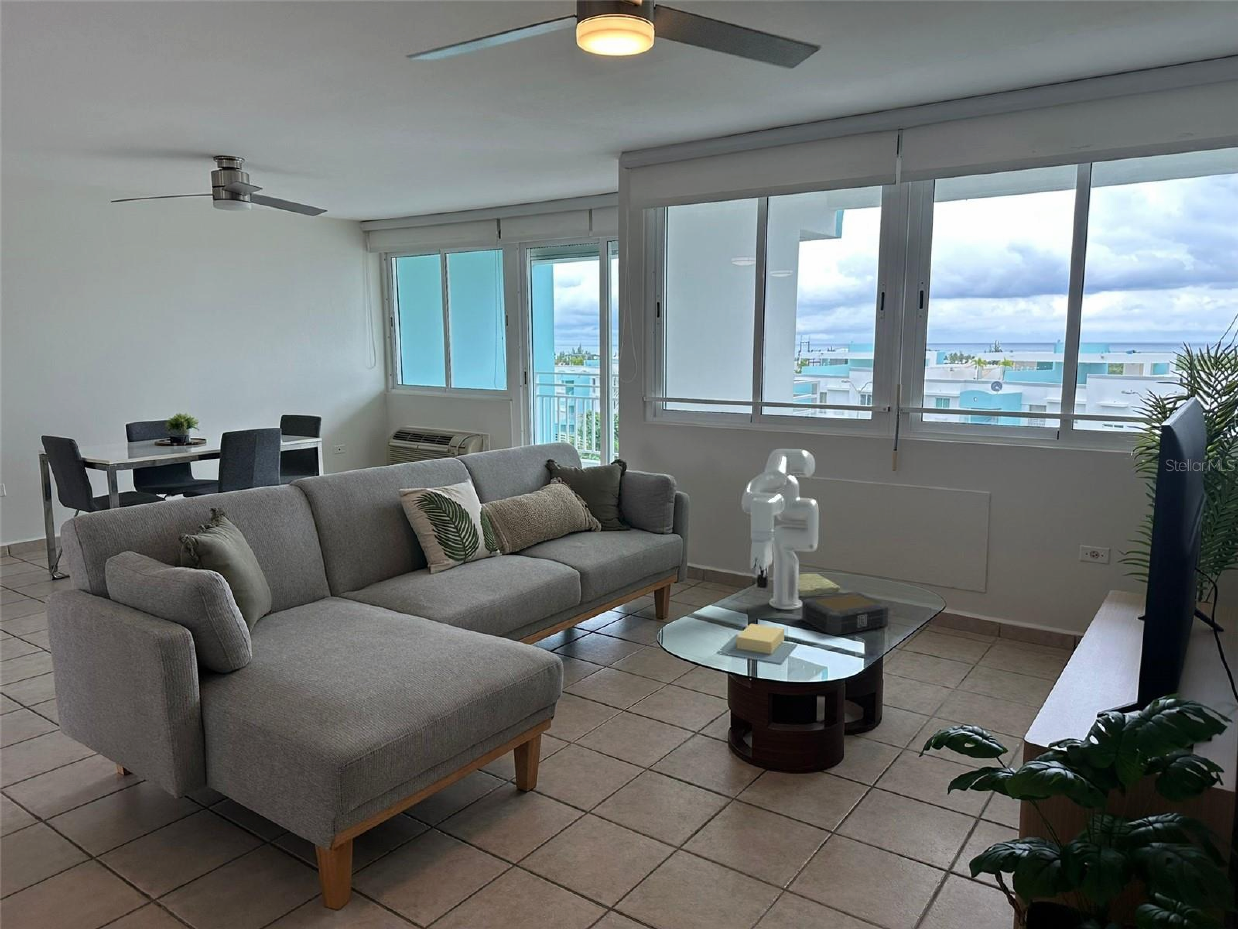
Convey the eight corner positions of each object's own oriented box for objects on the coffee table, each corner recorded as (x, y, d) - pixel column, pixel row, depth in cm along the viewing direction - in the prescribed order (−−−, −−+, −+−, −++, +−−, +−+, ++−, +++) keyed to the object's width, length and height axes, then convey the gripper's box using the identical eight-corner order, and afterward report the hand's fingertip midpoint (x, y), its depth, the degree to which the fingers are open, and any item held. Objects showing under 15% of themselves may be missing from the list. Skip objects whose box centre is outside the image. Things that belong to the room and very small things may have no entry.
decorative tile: (816, 580, 357) (816, 571, 356) (840, 593, 338) (841, 585, 337) (777, 584, 352) (777, 576, 352) (799, 598, 333) (799, 589, 332)
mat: (735, 635, 292) (735, 634, 292) (797, 645, 282) (797, 644, 282) (716, 653, 277) (716, 652, 277) (781, 664, 267) (781, 663, 266)
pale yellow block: (750, 623, 291) (736, 636, 279) (784, 628, 285) (771, 642, 273) (750, 635, 291) (736, 649, 279) (784, 640, 286) (771, 654, 274)
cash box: (833, 637, 290) (834, 616, 288) (800, 619, 308) (800, 599, 307) (891, 626, 299) (892, 606, 298) (855, 609, 317) (856, 590, 316)
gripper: (758, 528, 286) (758, 579, 289) (744, 539, 273) (744, 592, 276) (780, 530, 282) (779, 581, 286) (766, 541, 269) (766, 595, 273)
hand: (762, 587), depth 281 cm, fingers closed
